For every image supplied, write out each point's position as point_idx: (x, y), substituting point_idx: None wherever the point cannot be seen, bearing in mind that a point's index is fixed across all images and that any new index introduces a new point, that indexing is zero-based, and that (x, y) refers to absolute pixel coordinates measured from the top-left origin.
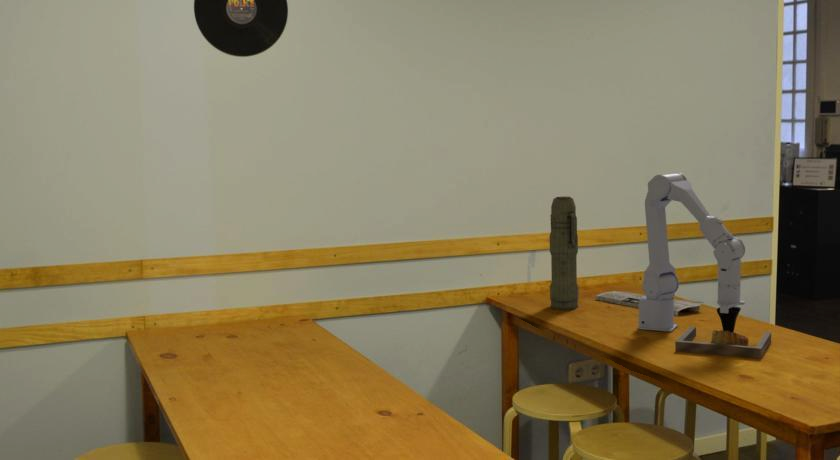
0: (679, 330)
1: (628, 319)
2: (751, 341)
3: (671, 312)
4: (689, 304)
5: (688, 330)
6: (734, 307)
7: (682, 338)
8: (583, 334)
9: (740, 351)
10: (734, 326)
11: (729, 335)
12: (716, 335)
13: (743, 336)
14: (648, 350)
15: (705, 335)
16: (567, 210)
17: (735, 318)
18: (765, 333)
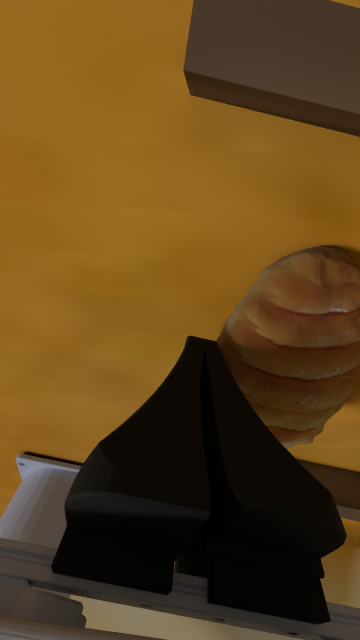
0: (72, 451)
1: (4, 510)
2: (205, 213)
3: (47, 540)
4: None
5: None
6: (112, 532)
7: (344, 511)
8: None
9: None
10: (197, 364)
11: (338, 381)
12: (318, 428)
13: (326, 296)
14: (344, 522)
15: (119, 401)
16: None
17: (265, 434)
18: (262, 72)
